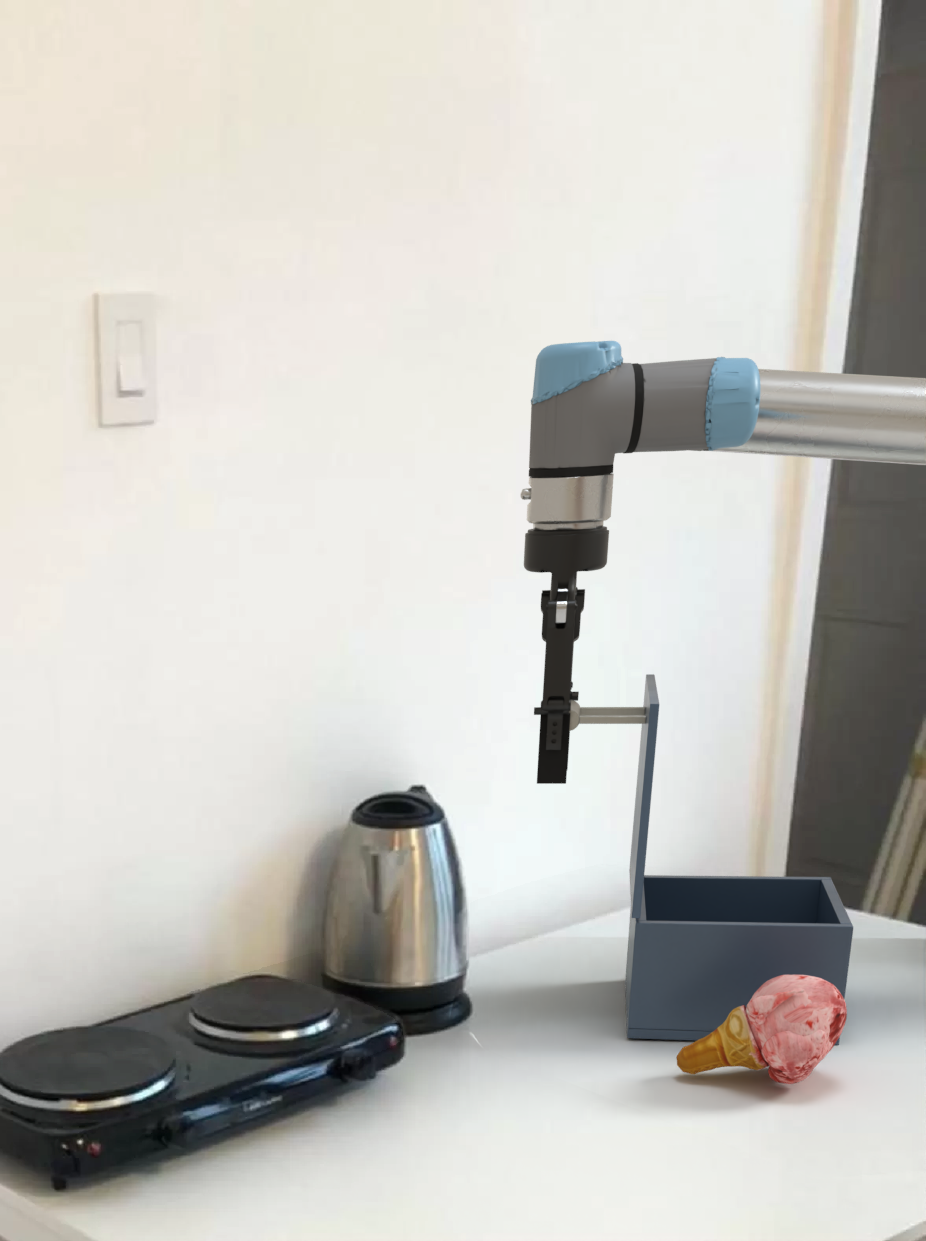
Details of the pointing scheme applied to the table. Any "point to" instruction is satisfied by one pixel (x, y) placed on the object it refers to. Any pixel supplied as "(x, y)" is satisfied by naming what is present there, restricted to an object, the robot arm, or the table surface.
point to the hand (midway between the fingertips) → (552, 775)
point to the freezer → (726, 947)
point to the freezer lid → (644, 778)
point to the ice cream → (774, 1031)
